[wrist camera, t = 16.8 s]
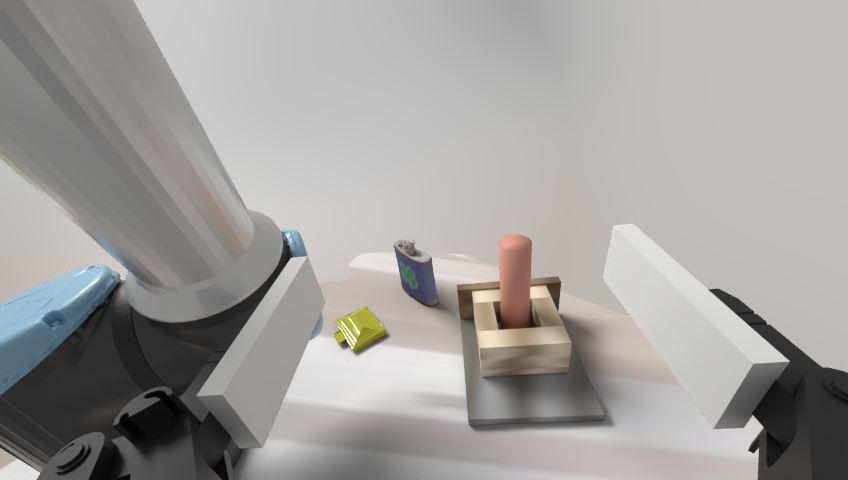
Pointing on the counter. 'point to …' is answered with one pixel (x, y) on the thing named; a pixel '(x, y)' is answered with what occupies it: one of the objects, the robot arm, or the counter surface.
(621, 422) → the counter surface
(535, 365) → the socket block
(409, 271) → the flask
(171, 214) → the robot arm
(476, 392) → the grey fixture base
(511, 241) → the dowel
